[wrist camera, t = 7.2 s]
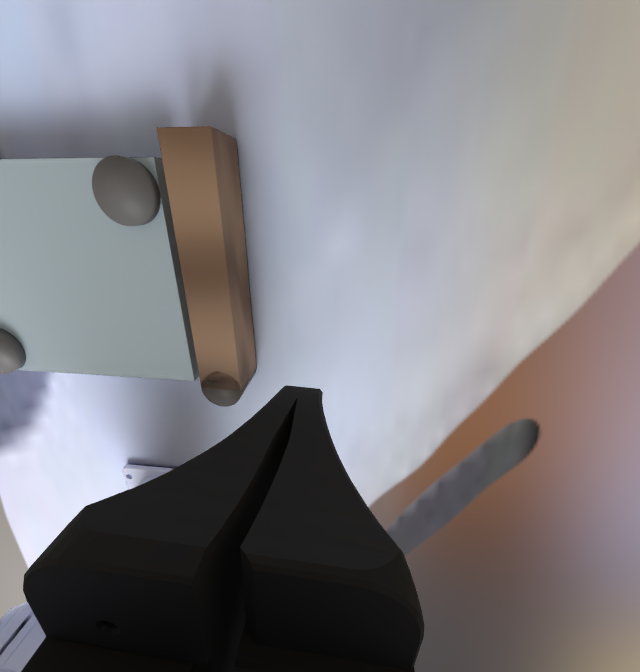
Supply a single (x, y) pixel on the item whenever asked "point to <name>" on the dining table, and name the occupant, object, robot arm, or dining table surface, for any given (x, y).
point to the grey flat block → (91, 270)
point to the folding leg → (212, 255)
